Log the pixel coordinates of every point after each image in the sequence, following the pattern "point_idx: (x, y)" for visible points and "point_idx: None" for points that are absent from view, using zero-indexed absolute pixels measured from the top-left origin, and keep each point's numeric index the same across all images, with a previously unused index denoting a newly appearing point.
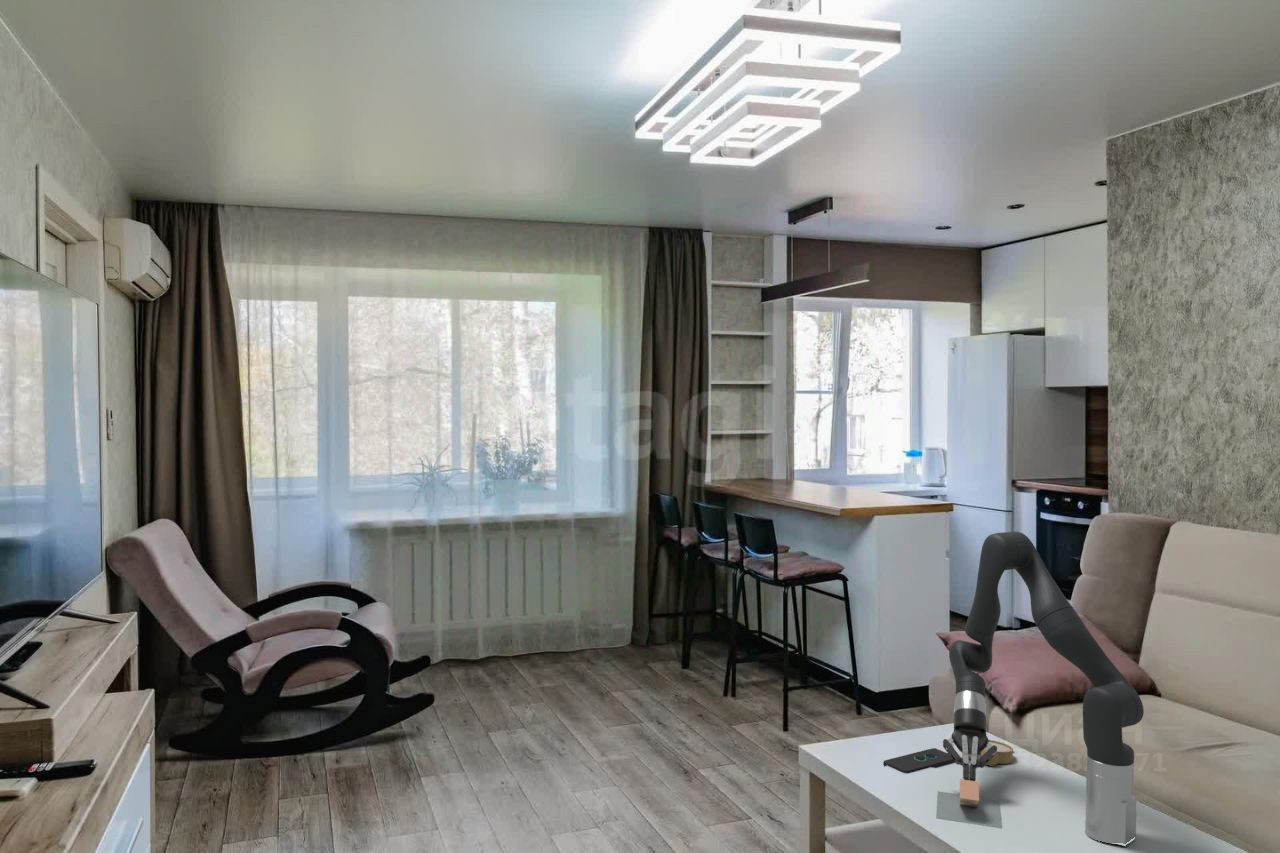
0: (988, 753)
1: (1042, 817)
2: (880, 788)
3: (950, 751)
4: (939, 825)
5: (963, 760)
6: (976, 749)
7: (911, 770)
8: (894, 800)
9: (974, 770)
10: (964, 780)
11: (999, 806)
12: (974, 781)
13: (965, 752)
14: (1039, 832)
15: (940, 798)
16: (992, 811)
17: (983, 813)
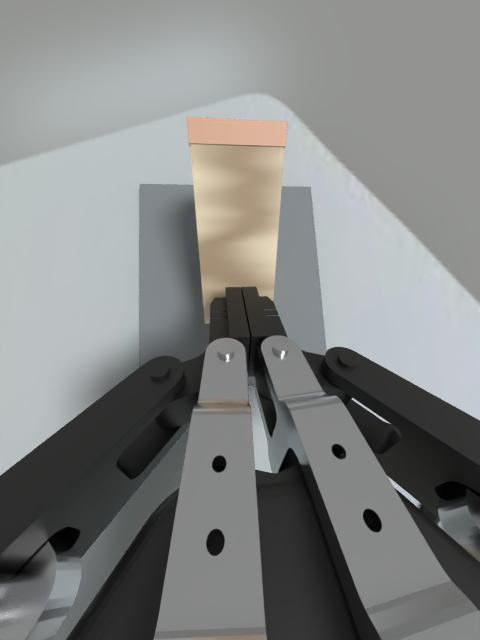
0: (47, 469)
1: (11, 325)
2: (471, 342)
3: (439, 398)
4: (296, 166)
5: (299, 350)
6: (193, 468)
7: (433, 518)
8: (421, 275)
9: (217, 327)
10: (264, 121)
11: (141, 338)
12: (211, 120)
13: (312, 401)
14: (37, 213)
15: (315, 324)
16: (164, 290)
17: (190, 264)
